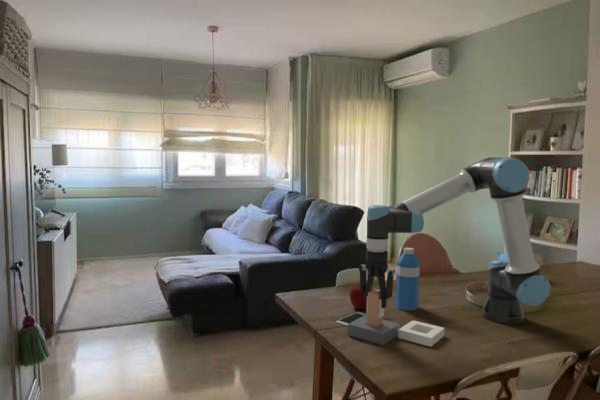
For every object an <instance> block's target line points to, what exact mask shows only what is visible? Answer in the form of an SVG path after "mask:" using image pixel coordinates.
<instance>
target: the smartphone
mask: <svg viewBox="0 0 600 400" xmlns="http://www.w3.org/2000/svg"><path fill="white" fill-rule="evenodd" d="M364 315H367V314H366V313H365V312H361V311H358V312H355V313H353V314H351V315H347V316H345V317H342V318H340V319H338V320H336V321H335V323H336V324H339V325H343V326H346V327H348V324H349V323H351V322H353V321H355V320H357V319H358V318H360V317H362V316H364Z"/></svg>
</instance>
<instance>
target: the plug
mask: <svg viewBox="0 0 600 400" xmlns="http://www.w3.org/2000/svg"><path fill="white" fill-rule="evenodd" d="M380 298H381V294H380V288H372V290H370V292H368V311H367V310H366V313H367V325H370V326H374V327H378V326H380V325H381V324H383V320H384V316H383V317H381V318H379V317H378V315H379V299H380Z"/></svg>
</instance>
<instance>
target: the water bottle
mask: <svg viewBox="0 0 600 400" xmlns="http://www.w3.org/2000/svg"><path fill="white" fill-rule="evenodd" d="M414 252H415V249H414V247H413V248H412V247H403V252H402V254H401V255H400V256H399V258H398V259H397V260H396V270H395V273H396V278H395V279H396V280H395V282H396V283H395V299H394V301H395V305H394V306H395V307H396V308H397V309H399V310H401V311H402V310H403V311H416V310H418V309H419V294H420V293H419V291H420V272H421V271H420V267H421V261H420V260H419V259H418V258H417V256H416V254H415V253H414Z"/></svg>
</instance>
